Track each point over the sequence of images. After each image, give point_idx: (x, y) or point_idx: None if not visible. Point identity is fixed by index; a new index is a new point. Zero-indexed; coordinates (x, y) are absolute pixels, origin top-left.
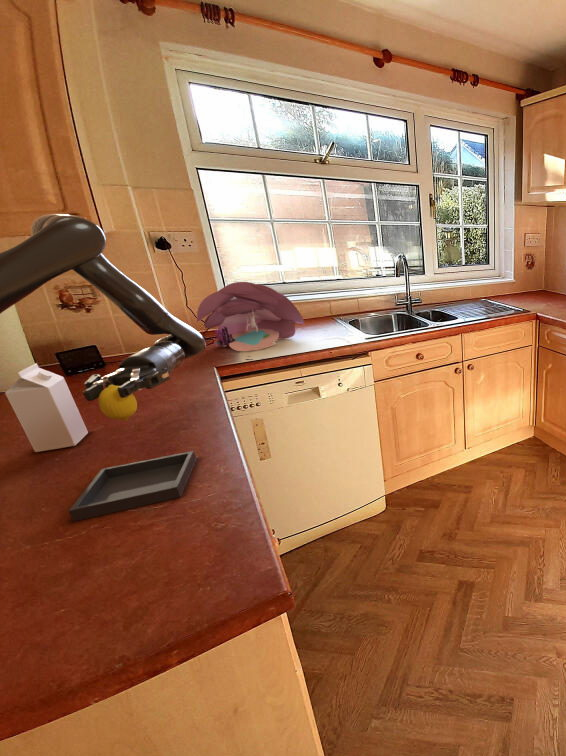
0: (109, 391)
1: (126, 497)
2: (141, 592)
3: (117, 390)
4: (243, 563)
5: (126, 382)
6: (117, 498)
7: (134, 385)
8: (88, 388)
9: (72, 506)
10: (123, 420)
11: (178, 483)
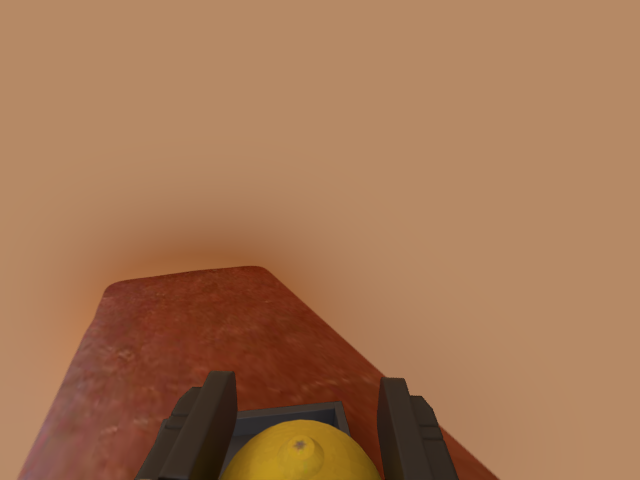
0: (297, 423)
1: (253, 411)
2: (209, 301)
3: (258, 438)
4: (123, 305)
5: (194, 455)
6: (269, 413)
7: (150, 462)
8: (412, 409)
9: (342, 411)
10: None
11: (158, 433)
